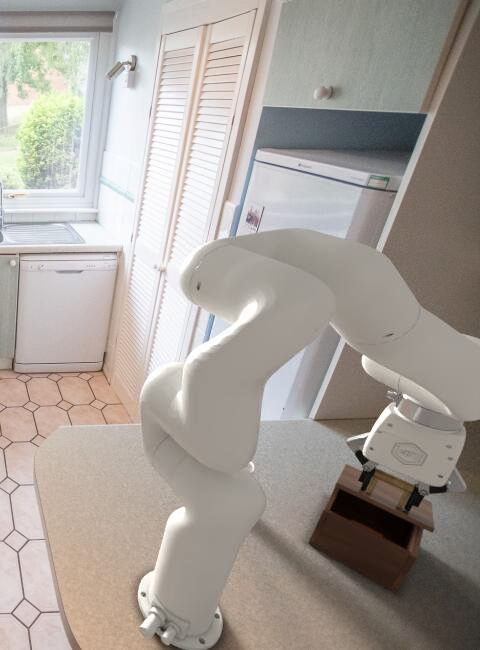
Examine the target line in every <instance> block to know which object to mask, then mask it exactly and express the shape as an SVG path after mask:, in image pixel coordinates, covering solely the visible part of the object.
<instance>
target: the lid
mask: <svg viewBox="0 0 480 650" xmlns="http://www.w3.org/2000/svg"><path fill="white" fill-rule="evenodd" d="M362 471H363V470H361V469H358V468H357V467H354V466H352V465H349V464H347V463H345V465H344V467H343V468H342V471H341V473H340V474H339V477H338V478H337V480H336V483H335V484H334V487H337V488H340V489H342V490H344V491H346V492H348V493H350V494H352V495H354V496H356V497H358V498H360V499H363V500H365V501H367V502H369V503H371V504H373V505H375V506H377V507H379V508H381V509H384V510H386V511H388V512H390V513H392V514H394V515H396V516H398V517H400V518H402V519H404V520H407V521H409V522H411V523H413V524H415V525H417V526H419V527H421V528H423V529H424V530H425V531H428V532H430V533H432V534H433V533H434V531H435V530H436V527H435V521H434V514H433V506H432V501H431V500H428V499H426V498H425V497H424V498H423V500H422V501H421V503H420V505H419V507H416V506H412V508H411V510H410V511H407V510H405V509H404V506H405V503H406V500H407V498H408V496H409V494H411V493H412V492H413V490H414V488H415V485H414V484H415V483H411V482H409V481H408V480H405V479H402V478H400V477H398V476H396V475H393V474H391V473H389V472H386V471H384V470H381V469H379V468H377V467H376V469H375V472H374V475H373V477H372V479H371V481H370V483H369V485H368V487H367V489H366V491H365V490H364V491H363V490H361V489H360V488H361V486H362V482H360V481H358V479H359V477H360V475H361V473H362Z"/></svg>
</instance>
